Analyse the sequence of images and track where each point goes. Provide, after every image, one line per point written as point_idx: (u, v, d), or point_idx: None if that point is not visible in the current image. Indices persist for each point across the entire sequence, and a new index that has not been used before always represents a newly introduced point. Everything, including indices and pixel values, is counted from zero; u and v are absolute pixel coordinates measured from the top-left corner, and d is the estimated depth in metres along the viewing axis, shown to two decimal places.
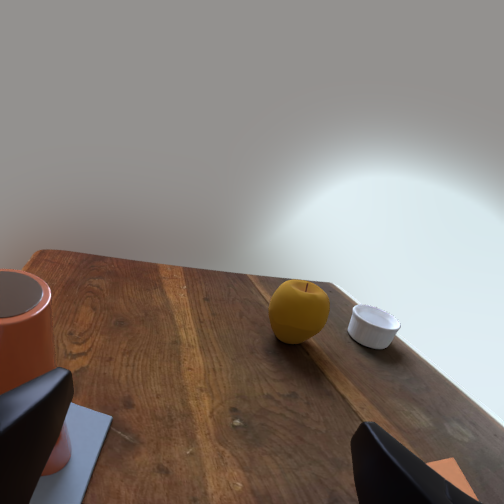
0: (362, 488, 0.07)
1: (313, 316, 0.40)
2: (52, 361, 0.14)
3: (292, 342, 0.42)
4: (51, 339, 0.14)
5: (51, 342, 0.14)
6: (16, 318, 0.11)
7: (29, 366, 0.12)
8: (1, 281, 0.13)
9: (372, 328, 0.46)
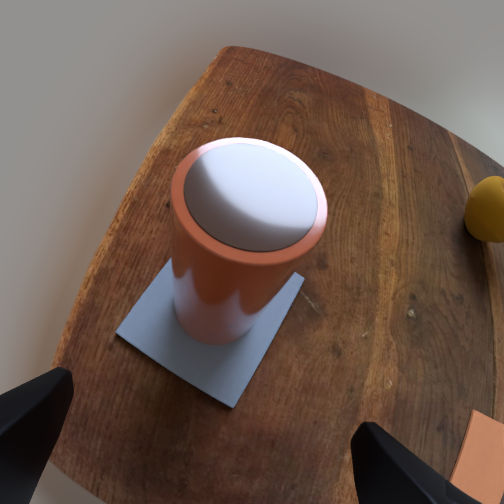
0: (362, 488, 0.07)
1: None
2: None
3: (477, 237, 0.34)
4: None
5: None
6: (289, 252, 0.11)
7: (277, 287, 0.13)
8: (248, 166, 0.12)
9: None
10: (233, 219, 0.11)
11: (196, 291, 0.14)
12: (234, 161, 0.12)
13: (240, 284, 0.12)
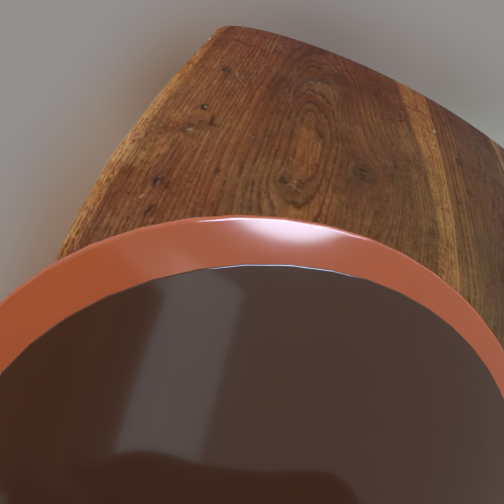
0: None
1: None
2: None
3: None
4: None
5: None
6: None
7: None
8: (273, 449, 0.02)
9: None
10: None
11: None
12: (186, 426, 0.02)
13: None
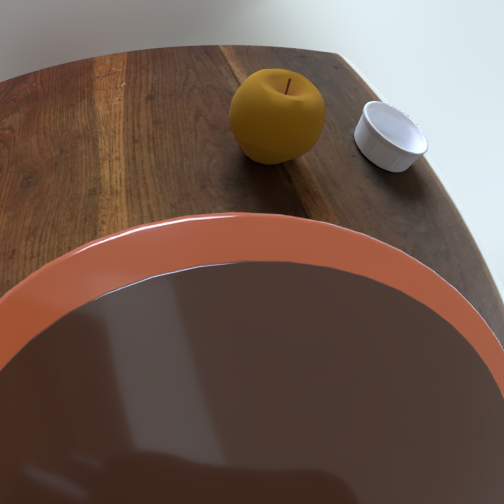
0: None
1: (296, 135, 0.24)
2: None
3: (266, 163, 0.28)
4: None
5: None
6: None
7: None
8: (272, 445, 0.02)
9: (389, 147, 0.30)
10: None
11: None
12: (186, 423, 0.02)
13: None
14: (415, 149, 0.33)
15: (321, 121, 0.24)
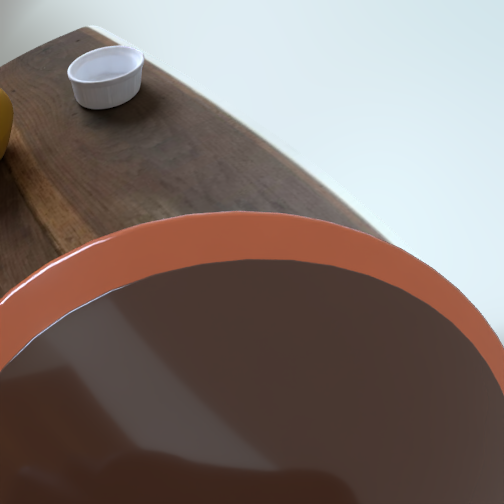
0: None
1: None
2: None
3: None
4: None
5: None
6: None
7: None
8: (275, 442, 0.02)
9: (91, 87, 0.26)
10: None
11: None
12: (189, 420, 0.02)
13: None
14: None
15: None
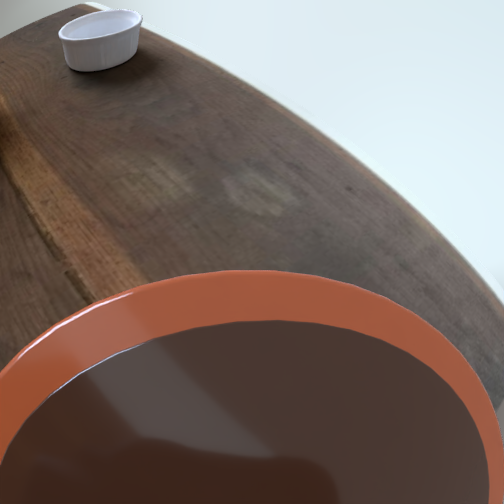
0: None
1: None
2: None
3: None
4: None
5: None
6: None
7: None
8: (261, 479, 0.02)
9: (83, 45, 0.21)
10: None
11: None
12: (188, 463, 0.02)
13: None
14: None
15: None
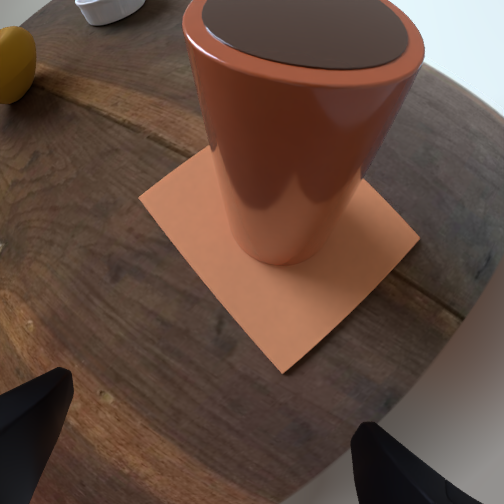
0: (362, 488, 0.07)
1: (6, 62, 0.18)
2: None
3: (19, 94, 0.23)
4: None
5: None
6: (396, 68, 0.05)
7: (377, 144, 0.08)
8: None
9: (102, 3, 0.24)
10: (295, 38, 0.06)
11: (260, 180, 0.09)
12: None
13: (331, 139, 0.07)
14: None
15: (20, 39, 0.19)
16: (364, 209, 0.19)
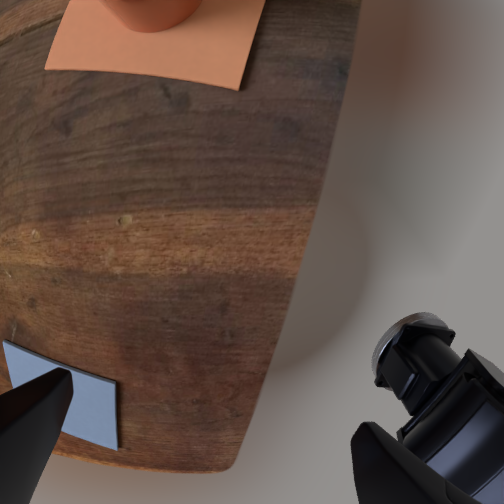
0: (362, 488, 0.07)
1: None
2: None
3: None
4: None
5: None
6: None
7: None
8: None
9: None
10: None
11: None
12: None
13: None
14: None
15: None
16: None
